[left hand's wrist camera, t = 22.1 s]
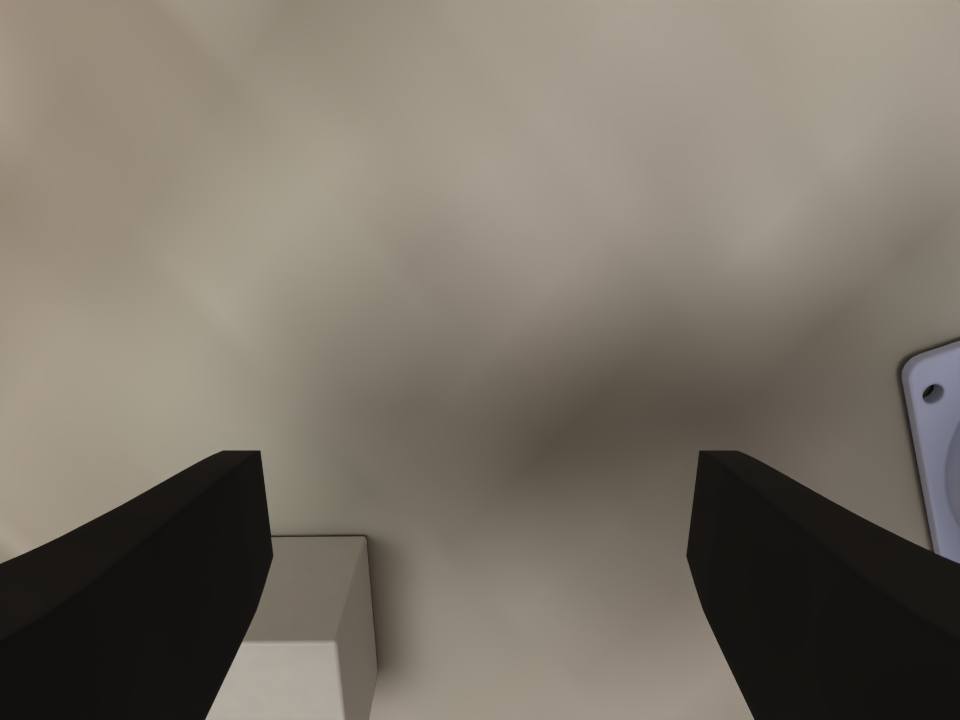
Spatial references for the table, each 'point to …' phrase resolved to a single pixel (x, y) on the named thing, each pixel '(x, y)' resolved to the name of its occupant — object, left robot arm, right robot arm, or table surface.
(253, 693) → the grey square block
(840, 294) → the table surface
